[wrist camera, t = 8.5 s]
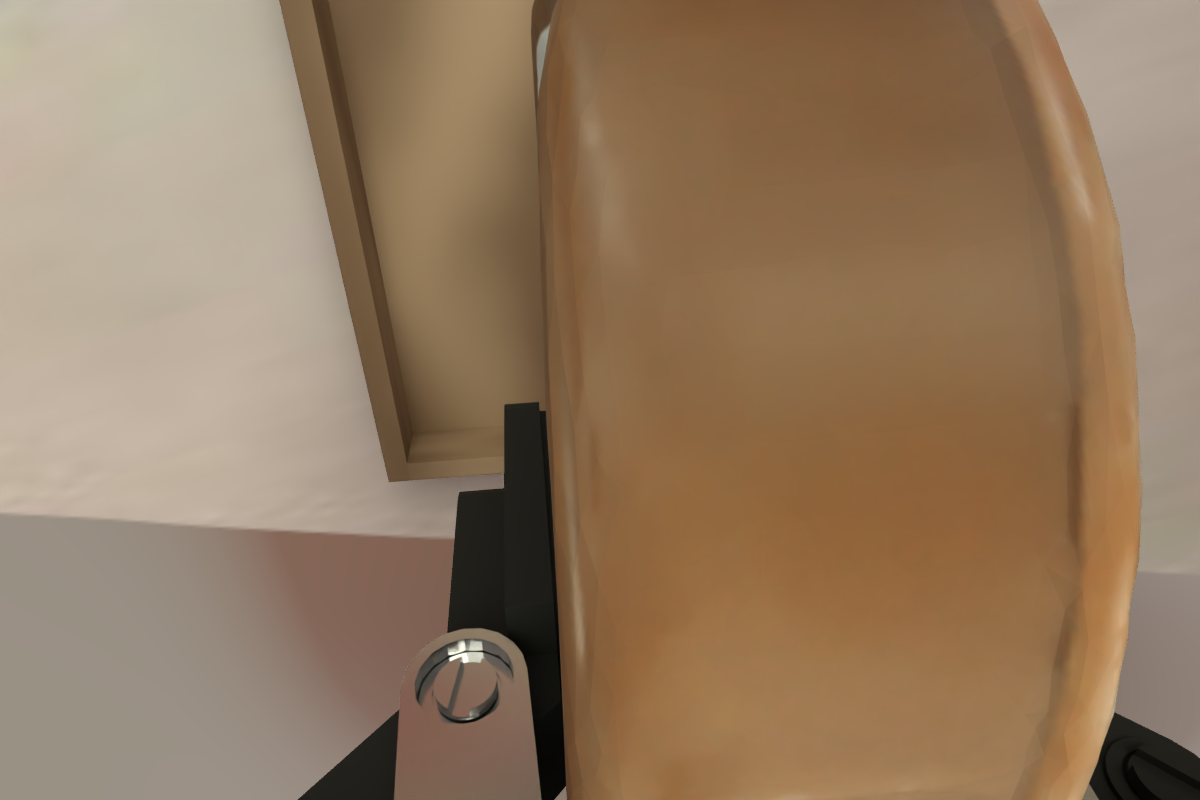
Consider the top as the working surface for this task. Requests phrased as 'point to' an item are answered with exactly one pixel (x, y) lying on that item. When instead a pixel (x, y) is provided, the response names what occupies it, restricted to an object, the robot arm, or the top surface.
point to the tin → (831, 400)
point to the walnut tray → (431, 213)
